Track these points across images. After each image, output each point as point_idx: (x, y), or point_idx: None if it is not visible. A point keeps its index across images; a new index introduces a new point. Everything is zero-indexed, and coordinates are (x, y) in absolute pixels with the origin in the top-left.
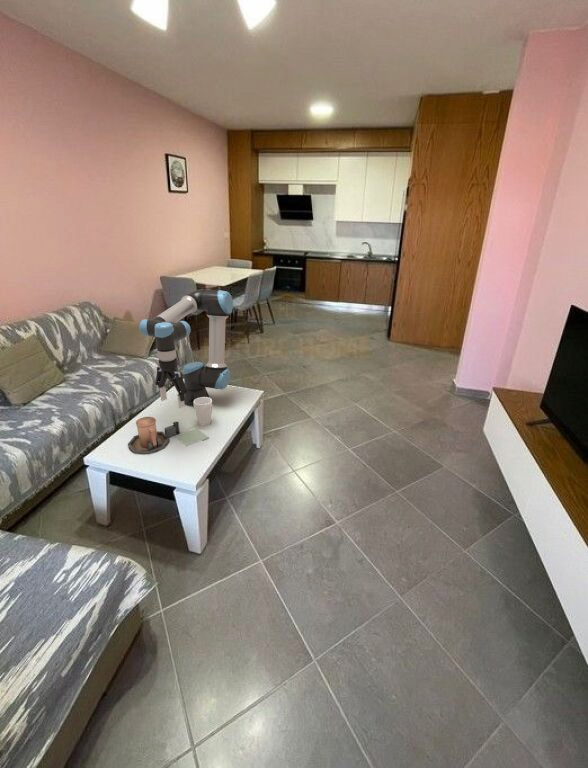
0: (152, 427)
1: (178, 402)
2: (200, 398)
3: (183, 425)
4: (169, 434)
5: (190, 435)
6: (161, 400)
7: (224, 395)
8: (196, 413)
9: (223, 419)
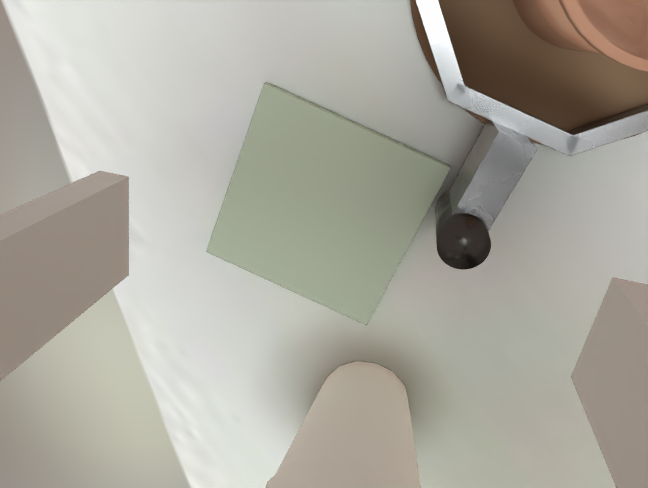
0: None
1: (53, 211)
2: None
3: (490, 326)
4: (480, 142)
5: (338, 221)
6: (638, 285)
7: None
8: (382, 427)
9: None
